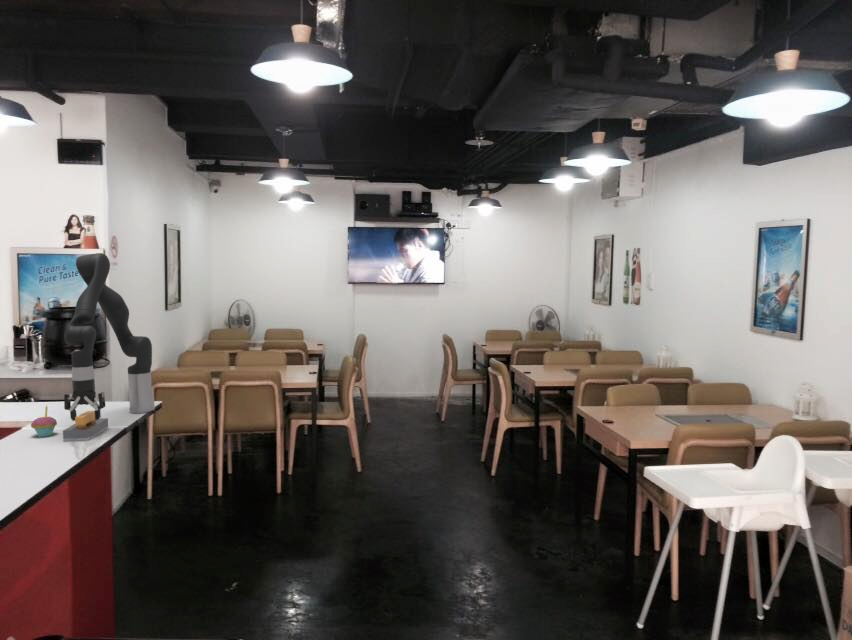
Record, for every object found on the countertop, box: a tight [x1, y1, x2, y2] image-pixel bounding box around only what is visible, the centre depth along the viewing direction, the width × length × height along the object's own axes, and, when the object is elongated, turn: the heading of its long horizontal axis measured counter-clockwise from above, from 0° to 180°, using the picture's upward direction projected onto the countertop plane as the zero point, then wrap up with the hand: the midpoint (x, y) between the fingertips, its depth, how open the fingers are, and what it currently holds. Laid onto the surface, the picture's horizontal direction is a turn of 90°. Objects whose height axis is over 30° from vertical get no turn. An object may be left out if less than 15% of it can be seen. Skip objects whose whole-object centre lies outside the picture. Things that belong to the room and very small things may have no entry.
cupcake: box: [30, 404, 58, 438], centre depth 253 cm, size 9×8×12 cm
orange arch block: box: [74, 410, 95, 428], centre depth 253 cm, size 11×3×7 cm, turn 4°
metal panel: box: [62, 418, 109, 442], centre depth 254 cm, size 18×9×4 cm, turn 4°
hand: (85, 419), depth 253 cm, fingers open, 8 cm apart
